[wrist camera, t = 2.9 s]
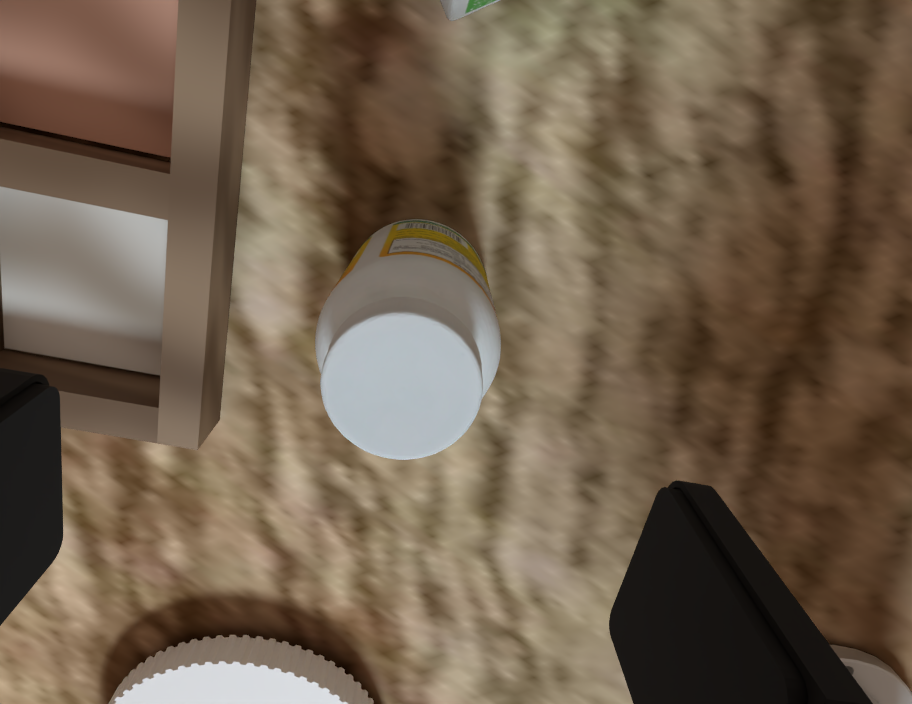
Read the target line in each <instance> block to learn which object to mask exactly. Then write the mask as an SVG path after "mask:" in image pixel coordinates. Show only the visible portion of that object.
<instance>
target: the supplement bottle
mask: <svg viewBox="0 0 912 704" xmlns="http://www.w3.org/2000/svg"><path fill="white" fill-rule="evenodd" d="M315 349H316V357H317V362H318V366H319V369H320V372H321V380H320V385H321V393H322V399H323V403H324V406H325V409H326V411H327V413H328V415H329V417H330V419H331V421H332V422H333V424H334V425H335V426H336V428H337V429H338V430H339V431H340V432H341V433H342V435H343V436H344V437H346V438H347V439H348V440H349V441H351V442H352V443H353V444H355V445H356V446H358V447H359V448H361V449H363V450H365V451H367V452H369V453H371V454H374V455H377V456H381V457H385V458H390V459H400V460H407V459H417V458H422V457H426V456H429V455H432V454H435V453H437V452H440V451H442V450H444V449H445V448H447V447H449V446H450V445H452V444H453V443H454V442H456V441H457V440H458V439H459V438H460V437H461V436H462V435H463V434H464V433H465V432H466V431H467V429H468V428H469V427H470V425H471V424H472V422H473V421H474V419H475V417H476V414H477V412H478V410H479V407H480V403H481V399H482V398H483V396H484V395H485V394H486V392H487V390H488V389H489V387H490V385H491V383H492V381H493V379H494V377H495V374H496V371H497V368H498V364H499V360H500V352H501V337H500V329H499V324H498V320H497V315H496V311H495V307H494V303H493V300H492V296H491V293H490V289H489V285H488V280H487V276H486V272H485V269H484V267H483V264H482V262H481V259H480V257H479V255H478V254H477V252H476V251H475V249H474V248H473V247H472V245H471V244H470V243H469V242H468V241H467V240H466V239H465V238H464V237H463V236H462V235H461V234H459V233H458V232H456V231H455V230H453V229H452V228H450V227H448V226H445V225H443V224H440V223H438V222H434V221H430V220H423V219H410V220H403V221H398V222H394V223H392V224H389V225H387V226H385V227H383V228H381V229H380V230H378V231H377V232H375V233H374V234H373V235H371V236H370V237H369V238H368V239H367V240H366V241H365V242H364V244H363V245H362V246H361V247H360V249H359V250H358V252H357V253H356V255H355V256H354V258H353V259H352V261H351V262H350V264H349V266H348V267H347V269H346V270H345V272H344V274H343V275H342V276H341V278H340V280H339V281H338V283H337V284H336V286H335V287H334V289H333V290H332V292H331V293H330V295H329V296H328V298H327V300H326V302H325V304H324V306H323V308H322V311H321V313H320V316H319V320H318V324H317V328H316V338H315Z"/></svg>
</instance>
